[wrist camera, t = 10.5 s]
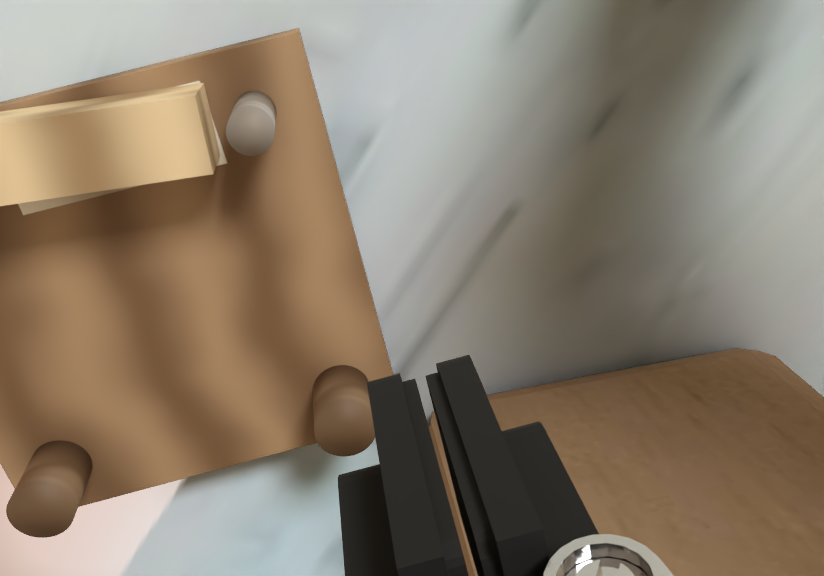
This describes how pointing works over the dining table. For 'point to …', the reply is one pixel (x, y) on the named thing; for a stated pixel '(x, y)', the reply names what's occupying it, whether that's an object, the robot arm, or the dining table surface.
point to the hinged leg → (106, 144)
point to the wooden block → (687, 460)
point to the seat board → (186, 301)
